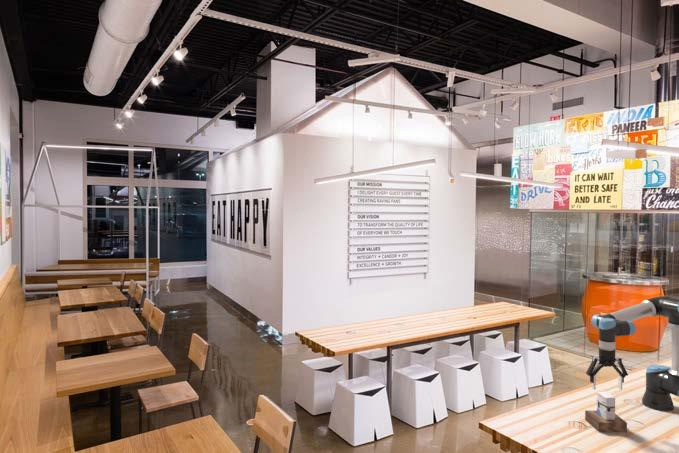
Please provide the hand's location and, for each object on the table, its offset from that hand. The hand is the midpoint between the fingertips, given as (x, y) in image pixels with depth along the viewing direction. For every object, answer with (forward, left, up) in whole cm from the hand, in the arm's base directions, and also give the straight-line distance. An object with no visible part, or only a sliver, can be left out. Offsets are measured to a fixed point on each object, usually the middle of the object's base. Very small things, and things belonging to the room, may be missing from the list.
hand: (606, 388), depth 241 cm
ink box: (0, 0, -15) cm, 15 cm away
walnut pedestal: (0, 0, -20) cm, 20 cm away
